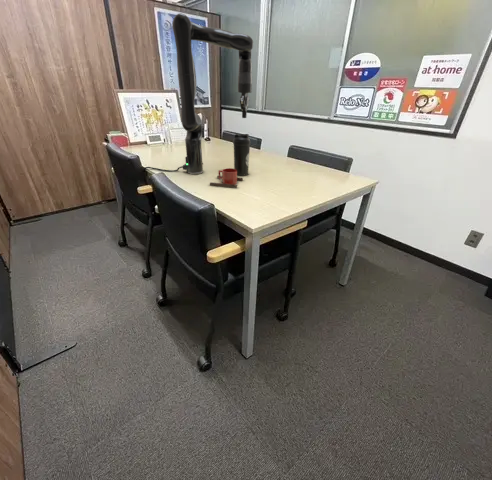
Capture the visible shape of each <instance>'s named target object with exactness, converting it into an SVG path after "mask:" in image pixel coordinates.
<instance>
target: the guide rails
mask: <svg viewBox="0 0 492 480" xmlns="http://www.w3.org/2000/svg"><path fill="white" fill-rule="evenodd" d="M220 177H222V175H220ZM216 179H217V180H220V179H219V175H217V177H216ZM243 181H244V178H243V177H239V176H237V182H243ZM209 186H211V187H219V188H220V187H221V188H230V189H238V184H235V185H233V184H223V183H222V182H212V181H211V182H209Z"/></svg>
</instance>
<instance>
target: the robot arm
mask: <svg viewBox="0 0 492 480" xmlns="http://www.w3.org/2000/svg"><path fill="white" fill-rule="evenodd" d="M171 25H172V31H173V37H174V42H175V48H176V66H177V67H176V68H177V81H178V87H179V96H180V105H181V107H180V109H181V110H180V111H181V113H180V114H181V115H180V116H181V125H182V128H183V129H184V130H185V131H186V136H185V138H184V142H185V153H186V156H185V158H184V159H185V163H184V164H183V165H181V166H178V167H177V169H174V170H172V169H171V170H170V169H163V168H158V167H151V166H145V167H144V168H143V170H147V169H151V170H157V171H160V172H161V171H162V172H169V173H171V172H172V173H173V172H178V171H179V170H180V169H182V170H185V171H186V174H190V175H200V174H203V173H204V166H203V165H204V162H203V147H202V139H203V124H202V119H201V116H200V115H199V114H198V113H196V109H195V101H196V93H197V73H196V66H195V61H194V55H193V49H192V41H196V42H202V43H206V44H209V45H213V46H216V47H219V48H224V49H228V50H236V51H238V75H237V93H239V94H240V99H239V105H240V110H241V118H242V119H247V111H248V109H249V104H250V96H249V94H252V92H253V61H252V52H253V51H252V50H253V48H254V40H253V38H252V37H251V36H250V35H248V34H244V33H237V32H233V31H229V30H228V29H227V30H226V29H223V28H219V27H209V26H204V25H200V24H198V23H195V22H194V21H191V19H190V17H189V16H187V14H185V13H182V12H181V13H177V14H176V15H175V16H173V19H172V23H171Z"/></svg>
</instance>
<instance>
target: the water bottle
mask: <svg viewBox="0 0 492 480" xmlns="http://www.w3.org/2000/svg"><path fill="white" fill-rule="evenodd" d="M249 136H250V134H249V133H243V134H239V133H235V135H234V138H233V139H232V144H233V169H236V170H237V177H246V176H248V175H249V168H250V167H249V165H250V164H249V163H250V150H251V149H250V148H251V143H252V140H251V139H250V137H249Z"/></svg>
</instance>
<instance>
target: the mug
mask: <svg viewBox="0 0 492 480" xmlns="http://www.w3.org/2000/svg"><path fill="white" fill-rule="evenodd" d="M217 172H218V176H219V179H218V180H221V183H223V184H233V185H238V181H237V177H238V176H237V170H236V169H234V167H233V168H230V167H229V168H228V167H227V168H223V169H221V170H220V169H219V170H218V171H217ZM220 176H222V177H220Z"/></svg>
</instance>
